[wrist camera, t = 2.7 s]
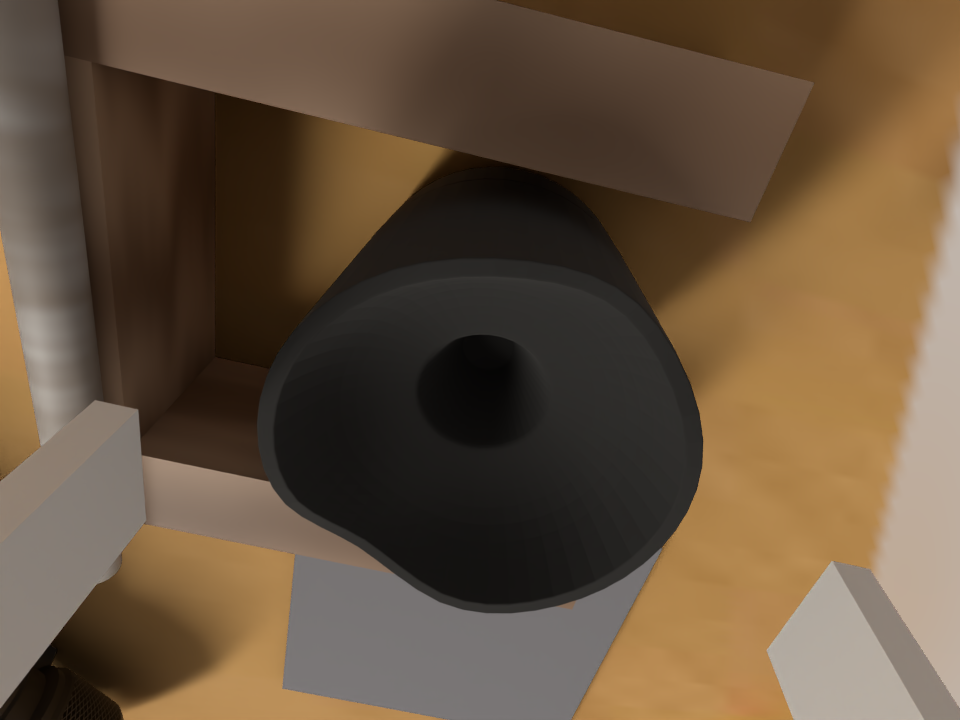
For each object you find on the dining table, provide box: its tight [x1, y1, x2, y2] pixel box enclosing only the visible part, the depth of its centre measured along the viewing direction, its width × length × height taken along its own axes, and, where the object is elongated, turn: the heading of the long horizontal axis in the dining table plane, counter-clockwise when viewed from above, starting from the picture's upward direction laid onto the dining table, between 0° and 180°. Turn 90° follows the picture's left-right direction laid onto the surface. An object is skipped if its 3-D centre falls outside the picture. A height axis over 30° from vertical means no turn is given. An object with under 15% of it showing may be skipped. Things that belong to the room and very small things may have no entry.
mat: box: [282, 547, 662, 720], centre depth 30 cm, size 16×16×1 cm
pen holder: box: [257, 167, 703, 613], centre depth 17 cm, size 9×9×10 cm
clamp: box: [0, 0, 814, 610], centre depth 18 cm, size 20×17×8 cm
